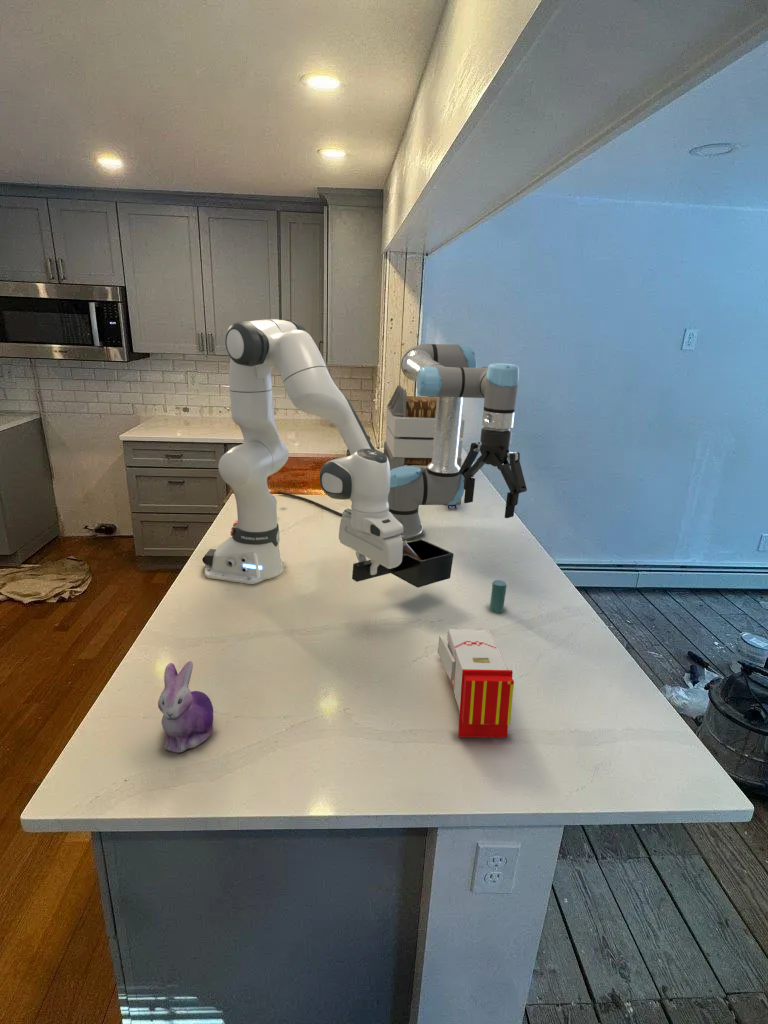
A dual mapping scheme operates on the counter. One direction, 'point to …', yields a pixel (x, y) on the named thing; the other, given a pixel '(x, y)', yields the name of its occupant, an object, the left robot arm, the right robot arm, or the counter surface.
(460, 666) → the toy
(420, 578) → the black box with handle
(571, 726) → the counter surface
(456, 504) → the figurine character
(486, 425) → the right robot arm
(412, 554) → the walnut peg
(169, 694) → the figurine
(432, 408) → the white slatted crate
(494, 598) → the teal peg
